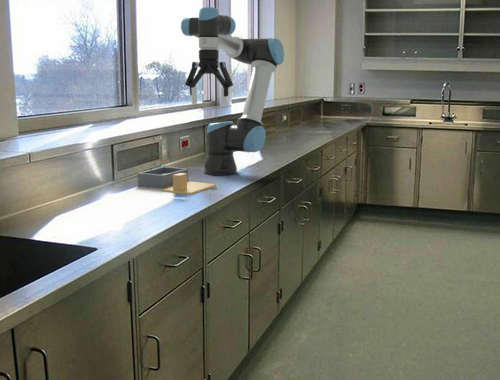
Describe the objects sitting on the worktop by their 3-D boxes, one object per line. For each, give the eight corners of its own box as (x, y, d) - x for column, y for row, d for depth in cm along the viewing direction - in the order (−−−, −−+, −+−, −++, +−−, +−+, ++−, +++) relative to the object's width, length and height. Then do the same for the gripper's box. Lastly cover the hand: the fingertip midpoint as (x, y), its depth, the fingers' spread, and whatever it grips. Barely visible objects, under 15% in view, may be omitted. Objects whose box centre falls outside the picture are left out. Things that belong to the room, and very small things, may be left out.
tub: (164, 180, 248) (163, 166, 247) (188, 183, 243) (187, 168, 242) (138, 187, 233) (137, 173, 231) (163, 190, 227) (162, 175, 226)
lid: (188, 185, 239) (188, 166, 238) (216, 188, 234) (216, 169, 232) (162, 194, 223) (161, 173, 221) (191, 197, 217) (190, 176, 216)
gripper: (176, 49, 229) (177, 104, 233) (232, 48, 218) (232, 105, 222) (186, 49, 235) (187, 103, 240) (241, 49, 224) (241, 104, 229)
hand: (209, 104), depth 231 cm, fingers open, 13 cm apart
